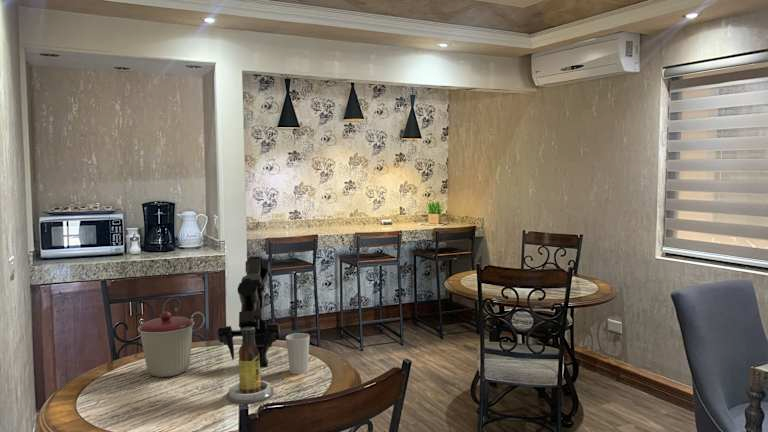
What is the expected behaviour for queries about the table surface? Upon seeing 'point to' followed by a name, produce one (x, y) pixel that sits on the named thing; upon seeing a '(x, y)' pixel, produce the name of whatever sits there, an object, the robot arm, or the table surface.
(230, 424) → the table surface
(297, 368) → the cup
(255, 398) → the grey shallow dish
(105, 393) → the table surface
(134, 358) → the table surface
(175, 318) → the canister
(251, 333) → the sauce bottle
